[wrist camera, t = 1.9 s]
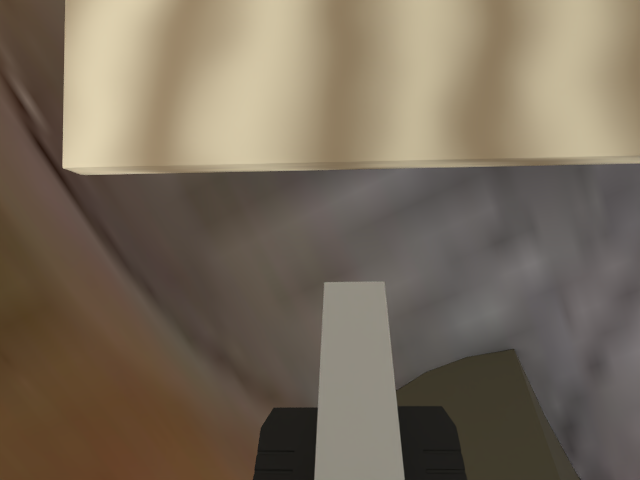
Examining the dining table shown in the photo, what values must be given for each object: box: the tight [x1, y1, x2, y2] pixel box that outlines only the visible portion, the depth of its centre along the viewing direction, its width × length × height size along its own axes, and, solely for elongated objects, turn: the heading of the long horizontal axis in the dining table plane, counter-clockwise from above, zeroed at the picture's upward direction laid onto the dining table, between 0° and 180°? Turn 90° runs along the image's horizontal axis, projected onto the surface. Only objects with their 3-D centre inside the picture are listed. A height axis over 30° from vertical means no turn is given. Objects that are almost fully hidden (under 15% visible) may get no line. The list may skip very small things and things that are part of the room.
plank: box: [63, 0, 640, 175], centre depth 25 cm, size 26×9×2 cm
